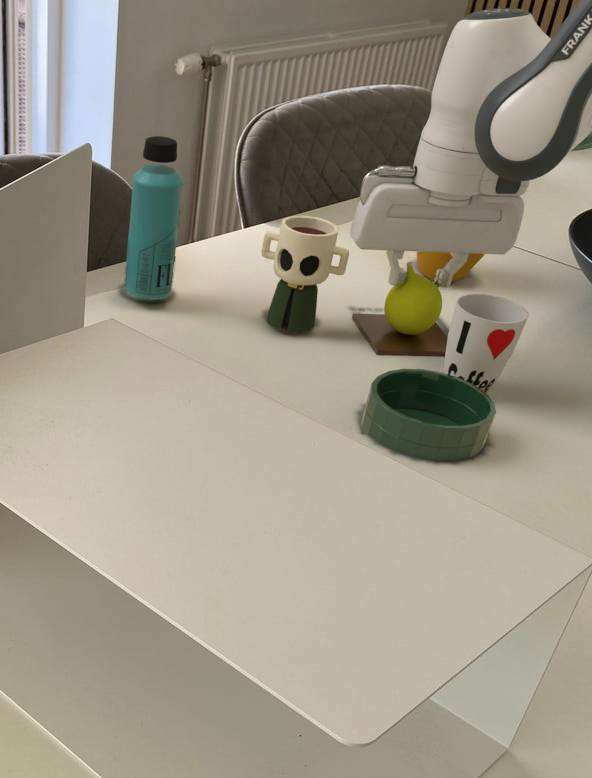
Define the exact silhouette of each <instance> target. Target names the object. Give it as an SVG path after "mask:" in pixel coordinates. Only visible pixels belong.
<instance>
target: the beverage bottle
mask: <svg viewBox="0 0 592 778" xmlns="http://www.w3.org/2000/svg"><path fill="white" fill-rule="evenodd" d="M142 157H143V158H144V159H145V160H146V161H149V162H153V163H154V164H153V163H152V164H151V163H150V164H146V165H144V166H142V167H141V168H139V169H138V170H137V171H136V172H135V173H134V174H133V176H132V188H131V189H132V191H131V202H130V203H131V204H130V205H131V206H130V215H129V216H130V217H129V227H128V230H127V231H128V233H127V239H126V242H127V245H125V246H126V247H125V248H126V249H125V250H126V251H125V253H126V256H125V267H124V275H123V277H124V280H123V285H124V287H125V291H126V292H127V294H129V295H130V296H132V297H135V298H137V299H142V300H152V301H155V300H162V299H165V298H168V297H169V296H170V294H171V291H172V290H173V285H174V284H173V283H174V281H173V280H174V278H175V277H174V275H175V272H174V271H175V270H176V265H175V263H176V262H177V261H176V260H177V259H176V258H177V257H176V255H177V253H176V252H177V241H178V230H179V229H180V216H181V209H182V208H181V200H182V189H183V185H184V180H183V178H182V176H181V175H180V174H179V172H178V171H177V170H176V168H173V167H172V166H168V165H164V164H167V163H174V162H176V161H177V159H178V142H177V141H176V139H174V138H171V137H169V136H168V137H167V136H160V135H156V136H155V135H154V136H149V137H147V138H145V141H144V147H143V151H142ZM157 163H159V164H157ZM160 163H161V164H160Z"/></svg>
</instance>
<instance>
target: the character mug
mask: <svg viewBox="0 0 592 778" xmlns="http://www.w3.org/2000/svg"><path fill="white" fill-rule="evenodd" d="M338 235H339V227H338V225H336V224H335V223H334V222H332V221H331V220H330V221H329V220H328V219H324V218H320V217H317V216H311V215H292V216H286V217H285V218H283V219H282V222H281V224H280V229H279V232H275V231H271V230H268V231H265V233H264V236H263V241H262V246H261V256H262V257H263V258H265V259H269V260H273V265H272V266H273V271H274V274H275V275H276V277H278V278H279V281H278V282H277V284H276V288H275V290H274V294H273V297H272V298H271V302H270V306H269V309H268V312H267V317H266V322H267V324H268V325H269V326H270V327H272V328H274V329H276V330H277V331H281V329H282V326H283V325H284V326H287V329H286V332H287V333H290V334H303V333H309V332H310V331H311V330H312V329H314V327H315V323H316V317H317V316H316V315H317V306H318V305H317V303H318V295H319V294H318V293H319V289H318V285H320V284H322V283H324V282H325V281H327V279H328V277H329V276H330V274H331V275H336V276H344V275H345V273H346V269H347V266H348V261H349V257H350V250H349V249H347V248H345V247H341V246H336V244H337V240H338V237H339V236H338ZM272 241H275V242H277V245H276V249H275V251H272V250H270V248H271V243H272ZM334 255H336V256H340V258H339V262H338V266H335V265H332V263H333V258H334Z"/></svg>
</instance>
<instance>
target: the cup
mask: <svg viewBox="0 0 592 778" xmlns="http://www.w3.org/2000/svg"><path fill="white" fill-rule="evenodd" d="M529 316H530V314H529V312H528V310H527V308H525V307H524V306H522V305H521V304H520V303H517V302H515V301H513V300H511V299H508V298H506V297H502V296H498V295H493V294H486V293H467V294H464V295H461V296H459V297H457V299H456V301H455V305H454V310H453V314H452V317H451V321H450V325H449V330H448V333H447V336H448V339H447V346H446V353H445V356H444V362H443V373H445V374H448V375H452V376H455V377H458V378H461V379H463V380H465V381H467V382H469V383H471V384H474V385H476V386H477V387H478V388H480V389H481V390H483V391H484V392H486V393H487V394H488V393H489V391H490V389H491V388H492V387H493V386H494V384H495V383H496V382H497V380H498V379H499V378H500V376H501V374H502V372H503V371H504V369H505V367H506V365H507V363H508V362H509V360H510V358H511V356H512V355H513V353H514V351H515V349H516V346H517V344H518V342H519V340H520V338H521V335H522V333H523V330H524V328H525V325H526V324H527V321H528V319H529Z"/></svg>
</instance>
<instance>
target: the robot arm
mask: <svg viewBox="0 0 592 778" xmlns="http://www.w3.org/2000/svg"><path fill="white" fill-rule="evenodd" d="M430 96H431V98H430V99H431V102H430V103H431V104H430V105H431V106H430V113H429V116H428V119H427V120H426V121H427V122H426V124H425V125H424V126H423V129H422V131H421V133H420V138H419V141H418V146H417V148H416V152H415V156H414V161H413V163H412V166H405V165H403V166H401V165H400V166H390V165H378V166H377V168H375V169H372V170H371V171H369V172H368V173H367V174H366V175H365V176H364V177H363V179H362V182H361V187H360V191H359V202H358V204H357V206H356V210H355V212H354V215H353V219H352V222H351V225H350V229H349V234H350V237H351V239H352V241H353V243H354V244H355V245H356V247H358V248H359V250H364V251H365V250H370V251H386V256H387V260H388V264H389V266H390V267H389V268H390V271H389V275H388V279H387V280H388V283H389V285H390V286H392V287H393V286H403V285H404V279H405V278H406V275H407V273H406V272H407V270H405V269H404V268H403V267H400V264H399V260H403V258H404V256H405V255H404V254H405V252H417V251H419V252H446V253H450V254H451V256H452V257H453V258H452V259H451V260H450V261H449V263H448V264H447V265H446V266H445V267H444V269H437V272H436V275H437V276H436V277H435V279H434V281H433V283H434V284H435V285H436V286H437V287H438V288H450V287H451V283H452V282H451V281H452V278H453V274H455V273H456V272H457V271H458V270H459V269H460V268H461V267H462V266H463V265H464V264H465V263H466V261H467V258H468V255H469V253H473V254H485V255H503V256H504V255H506V254H507V253H508V252H509V251H511V249H513V248H514V246H515V244H516V242H517V239H518V235H519V233H520V229H521V225H522V221H523V217H524V212H525V202H524V199H523V198H522V196H523V195H524V194H525V193H526V192H527V190H528V188H529V185H530V181H532V180H536V179H539V178H541V177H543V176H545V175H547V174H548V173H550V172H551V171H553V170H554V169H555V168H556V167H557V166H558V165H559V164H560V163H561V162H562V161H563V159H564V158H565V157H566V156H567V154H569V153H570V152H571V151H572V150H574V149H575V148H576V147H578V145H579V144H581V143H582V142H583V141H584V140H585V139H586V138H587V137H588V136H589V135H590V134H591V133H592V0H579V1H578V2H577V3H576V5H575V6H574V7H573V9H572V10H571V12H570V13H569V14H568V16H567V17H566V18H565V20H564V21H563V22H562V24H561V25H560V26H559V28H558V29H557V31H556V32H555V33H554V35H553V36H552V37H550V36H548V35H547V34H546V33H545V32H544V31H543V30H542V28H540V26H539V25H538V24H537V22H536V21H535V18H534V16H533V15H532V13H531V12H529V11H527V10H525V9H522V8H516V7H515V8H514V7H497V8H496V7H495V8H489V9H480V10H476V11H474V12H471V13H470V14H467V15H466V16H464V17H462V18H460V20H459V21H457V23H456V24H455V26H454V27H453V29H452V31H451V33H450V35H449V38H448V40H447V43H446V45H445V48H444V51H443V55H442V56H441V59H440V63H439V67H438V70H437V73H436V76H435V80H434V83H433V87H432V91H431V95H430Z"/></svg>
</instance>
